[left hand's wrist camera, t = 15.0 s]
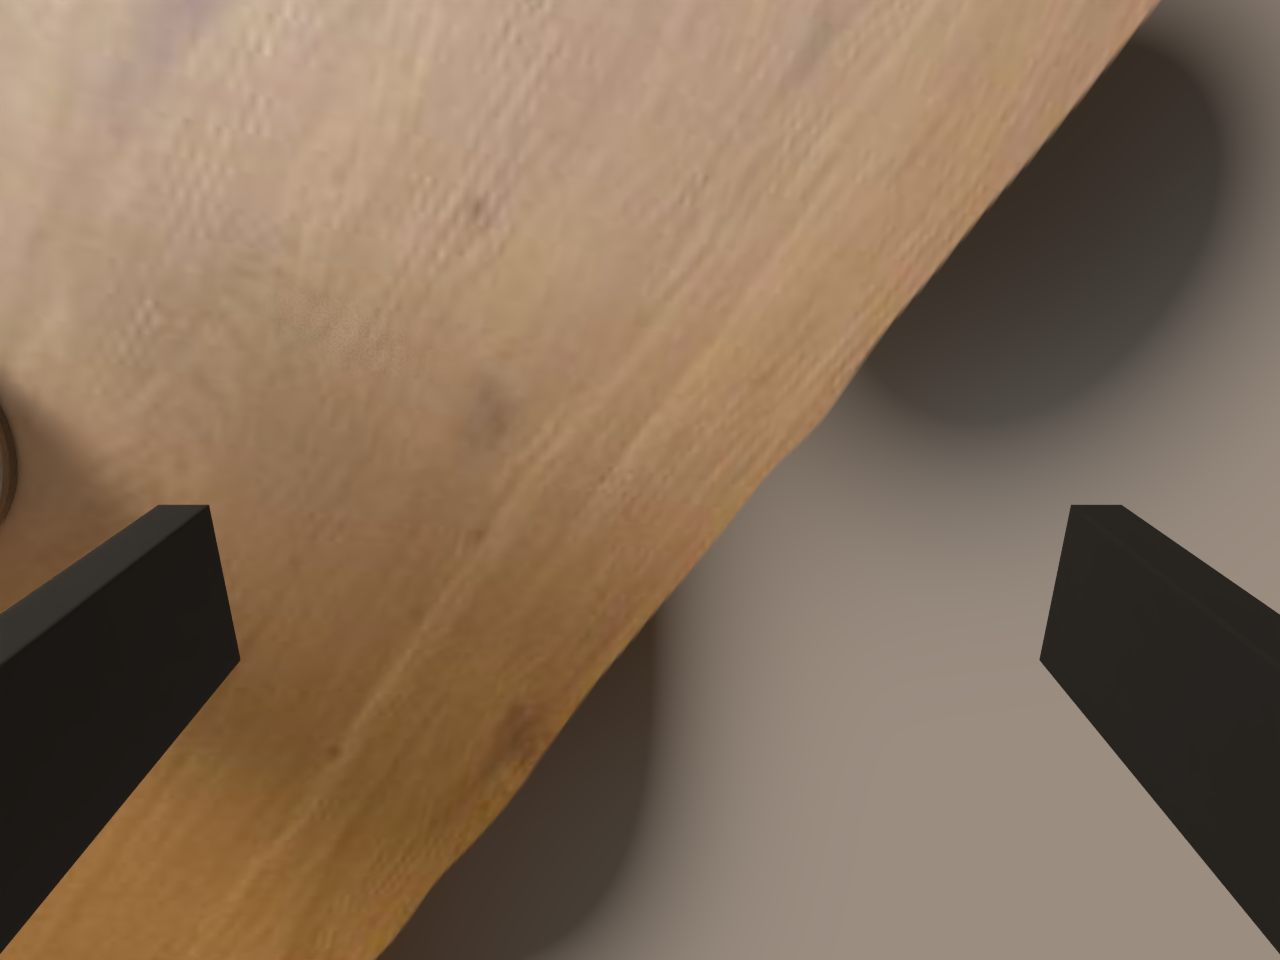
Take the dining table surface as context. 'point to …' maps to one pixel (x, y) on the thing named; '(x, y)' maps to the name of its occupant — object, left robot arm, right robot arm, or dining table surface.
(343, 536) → the dining table surface
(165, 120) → the dining table surface
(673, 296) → the dining table surface
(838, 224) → the dining table surface
